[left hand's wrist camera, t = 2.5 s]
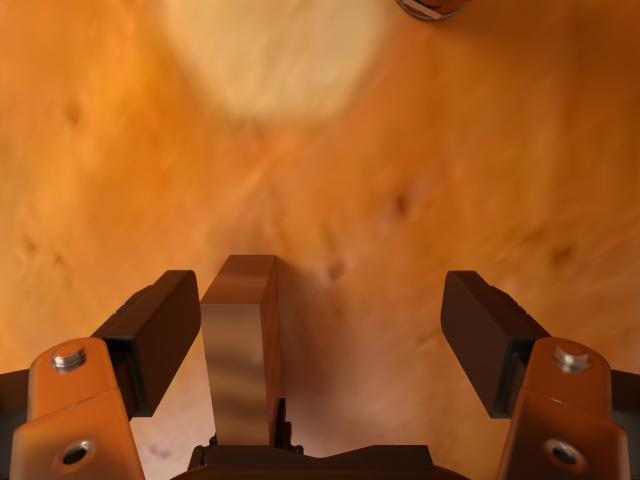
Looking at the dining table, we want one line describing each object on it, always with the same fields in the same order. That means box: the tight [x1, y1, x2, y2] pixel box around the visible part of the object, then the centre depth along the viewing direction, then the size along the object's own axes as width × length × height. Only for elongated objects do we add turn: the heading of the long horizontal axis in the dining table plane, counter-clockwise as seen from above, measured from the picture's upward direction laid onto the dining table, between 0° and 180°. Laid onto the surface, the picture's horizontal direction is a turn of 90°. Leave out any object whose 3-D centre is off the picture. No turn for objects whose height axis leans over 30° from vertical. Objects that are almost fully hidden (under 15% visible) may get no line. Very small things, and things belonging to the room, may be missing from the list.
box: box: [200, 255, 282, 447], centre depth 43 cm, size 25×6×12 cm, turn 0°
